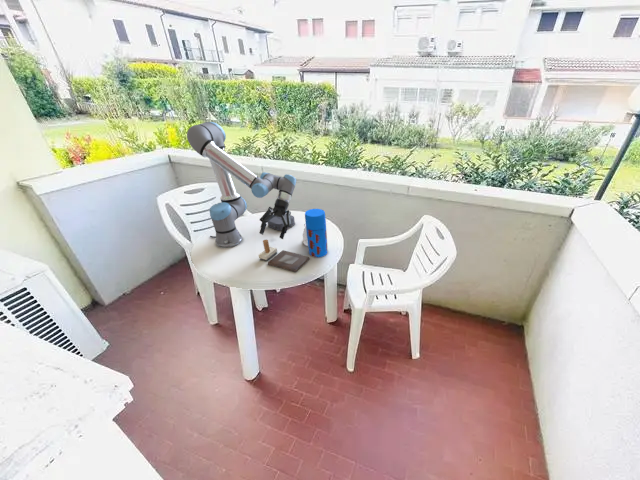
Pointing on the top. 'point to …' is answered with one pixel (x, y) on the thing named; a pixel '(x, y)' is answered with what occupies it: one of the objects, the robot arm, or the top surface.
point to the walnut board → (288, 261)
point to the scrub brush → (267, 251)
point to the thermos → (316, 232)
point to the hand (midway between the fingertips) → (271, 236)
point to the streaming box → (279, 222)
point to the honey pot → (305, 236)
